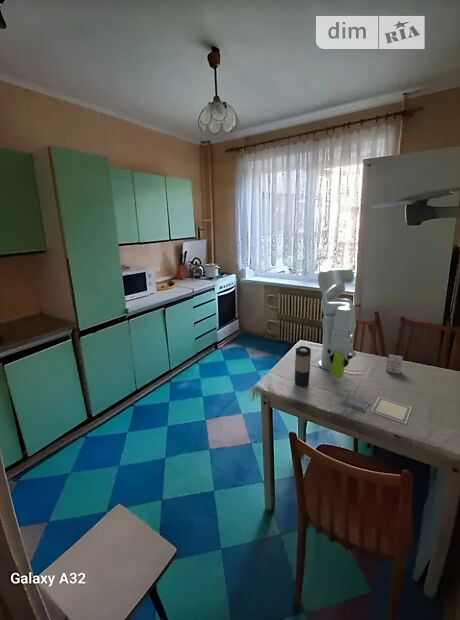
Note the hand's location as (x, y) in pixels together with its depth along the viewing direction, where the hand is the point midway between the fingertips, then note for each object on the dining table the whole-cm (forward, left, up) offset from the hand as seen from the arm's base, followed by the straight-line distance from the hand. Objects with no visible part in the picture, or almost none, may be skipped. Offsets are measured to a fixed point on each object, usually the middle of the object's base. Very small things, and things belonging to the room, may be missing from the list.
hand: (338, 363), depth 147 cm
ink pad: (+10, +13, -13) cm, 20 cm away
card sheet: (+5, +27, -13) cm, 30 cm away
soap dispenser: (0, 0, -7) cm, 7 cm away
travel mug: (+9, -15, -13) cm, 22 cm away
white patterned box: (-33, +20, -13) cm, 40 cm away
